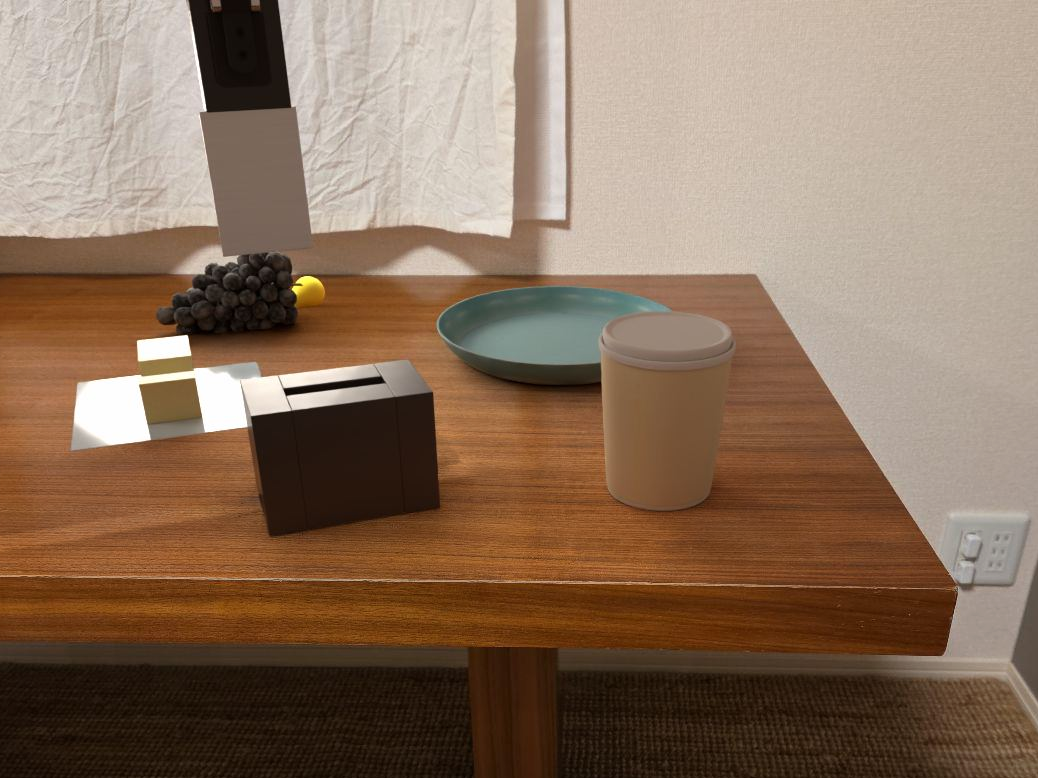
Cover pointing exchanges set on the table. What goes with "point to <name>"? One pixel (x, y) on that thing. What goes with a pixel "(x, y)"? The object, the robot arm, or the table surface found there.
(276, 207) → the knife
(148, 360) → the butter
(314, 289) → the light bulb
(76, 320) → the table surface
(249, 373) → the butter dish
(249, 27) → the robot arm
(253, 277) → the fruit
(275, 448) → the stand
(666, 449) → the coffee cup
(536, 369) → the teal plate
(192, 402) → the tan square block
